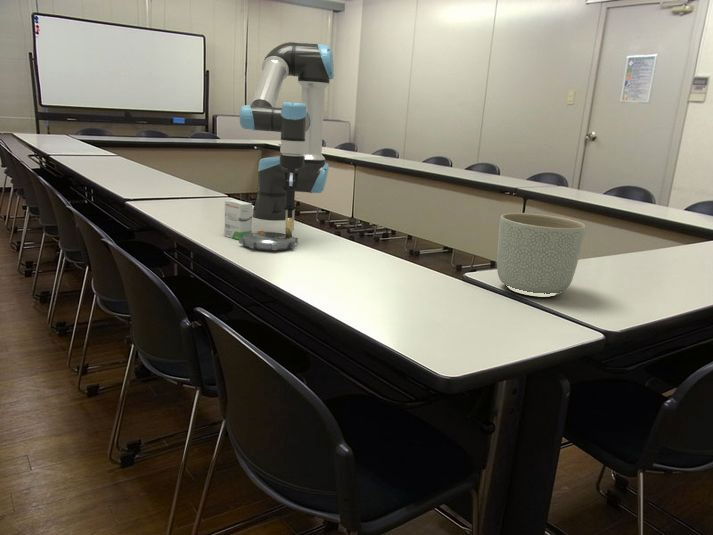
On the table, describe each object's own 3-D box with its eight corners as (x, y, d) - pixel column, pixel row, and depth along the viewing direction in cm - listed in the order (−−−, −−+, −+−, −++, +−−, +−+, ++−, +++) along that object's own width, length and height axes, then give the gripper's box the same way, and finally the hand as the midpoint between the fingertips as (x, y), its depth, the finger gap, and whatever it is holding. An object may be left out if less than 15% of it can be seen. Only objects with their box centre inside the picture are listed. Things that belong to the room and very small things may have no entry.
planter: (573, 309, 138) (587, 232, 133) (485, 295, 144) (496, 220, 139) (573, 288, 157) (585, 219, 152) (495, 275, 163) (505, 209, 158)
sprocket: (261, 234, 189) (262, 210, 187) (308, 243, 182) (310, 218, 180) (227, 243, 173) (227, 217, 171) (277, 253, 166) (278, 226, 164)
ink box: (252, 239, 186) (253, 203, 182) (240, 241, 182) (240, 204, 179) (235, 234, 191) (236, 199, 188) (223, 235, 187) (223, 199, 184)
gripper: (280, 152, 182) (278, 224, 188) (279, 155, 170) (276, 233, 176) (304, 153, 183) (301, 226, 189) (304, 157, 171) (301, 234, 177)
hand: (289, 229), depth 183 cm, fingers closed
